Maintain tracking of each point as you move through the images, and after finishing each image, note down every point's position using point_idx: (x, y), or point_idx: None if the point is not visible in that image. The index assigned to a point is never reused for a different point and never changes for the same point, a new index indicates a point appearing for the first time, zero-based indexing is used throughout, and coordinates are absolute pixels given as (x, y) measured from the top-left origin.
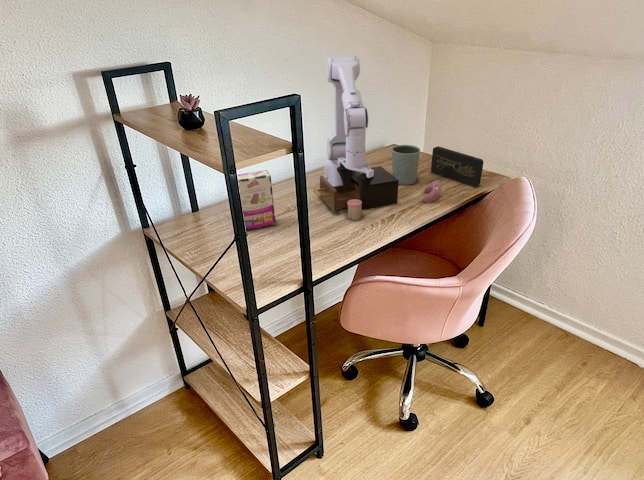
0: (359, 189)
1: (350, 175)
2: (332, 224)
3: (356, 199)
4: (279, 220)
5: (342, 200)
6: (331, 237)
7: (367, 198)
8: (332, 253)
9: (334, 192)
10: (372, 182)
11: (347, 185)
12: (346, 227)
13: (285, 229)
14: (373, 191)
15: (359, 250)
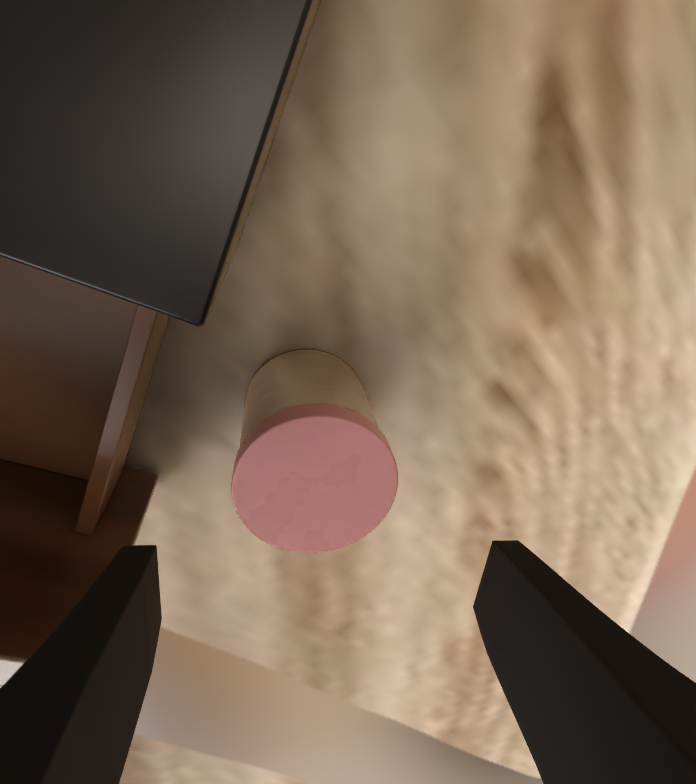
0: (539, 743)
1: (60, 781)
2: (281, 576)
3: (276, 432)
4: None
5: (113, 470)
6: (403, 651)
7: (251, 199)
8: None
9: None
10: (192, 5)
11: (145, 641)
12: (382, 537)
13: (147, 764)
14: (284, 94)
15: None
